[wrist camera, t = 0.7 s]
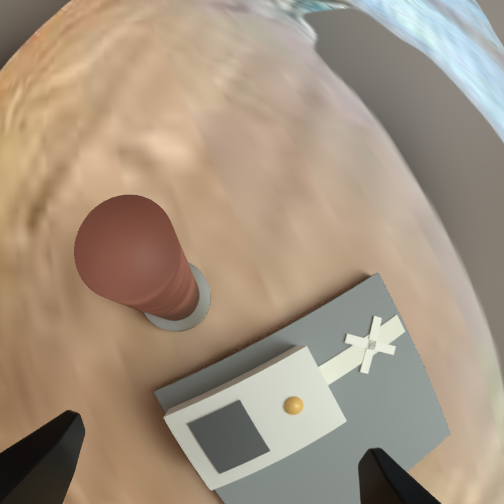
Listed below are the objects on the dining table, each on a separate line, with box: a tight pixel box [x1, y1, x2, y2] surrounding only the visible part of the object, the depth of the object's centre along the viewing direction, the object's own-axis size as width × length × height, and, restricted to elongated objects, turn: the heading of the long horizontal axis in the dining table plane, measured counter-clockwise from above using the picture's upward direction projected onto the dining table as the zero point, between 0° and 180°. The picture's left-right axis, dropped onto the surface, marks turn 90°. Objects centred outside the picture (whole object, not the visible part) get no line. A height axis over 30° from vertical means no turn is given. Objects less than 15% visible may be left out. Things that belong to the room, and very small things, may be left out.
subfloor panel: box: [154, 273, 450, 504], centre depth 20 cm, size 19×17×1 cm
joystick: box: [74, 195, 211, 331], centre depth 16 cm, size 5×5×14 cm
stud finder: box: [163, 345, 347, 490], centre depth 18 cm, size 10×6×3 cm, turn 118°
